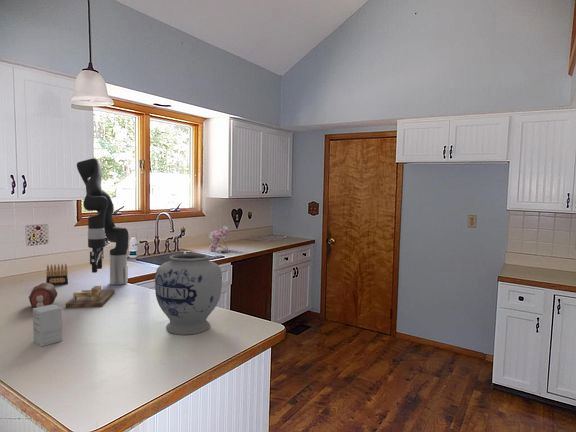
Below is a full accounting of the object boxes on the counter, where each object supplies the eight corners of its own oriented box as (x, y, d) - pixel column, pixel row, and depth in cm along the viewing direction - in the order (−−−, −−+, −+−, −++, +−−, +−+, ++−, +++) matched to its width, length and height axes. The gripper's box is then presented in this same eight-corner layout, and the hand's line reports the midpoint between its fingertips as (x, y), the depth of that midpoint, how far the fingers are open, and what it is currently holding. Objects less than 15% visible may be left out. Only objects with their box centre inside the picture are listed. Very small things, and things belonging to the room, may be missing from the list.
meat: (54, 311, 178) (54, 289, 177) (24, 314, 174) (23, 292, 173) (60, 299, 196) (59, 279, 195) (33, 301, 192) (32, 281, 191)
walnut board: (114, 293, 210) (114, 289, 210) (102, 306, 186) (102, 302, 186) (82, 294, 207) (82, 290, 207) (65, 307, 183) (65, 303, 183)
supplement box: (54, 336, 150) (54, 303, 149) (62, 341, 145) (62, 307, 144) (32, 341, 144) (32, 307, 143) (40, 347, 139) (39, 312, 139)
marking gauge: (102, 297, 194) (102, 285, 194) (99, 300, 189) (99, 288, 189) (75, 298, 192) (75, 286, 191) (72, 301, 187) (72, 288, 187)
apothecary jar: (154, 319, 171) (154, 251, 168) (215, 314, 180) (216, 249, 178) (156, 343, 146) (156, 263, 143) (227, 335, 155) (228, 260, 153)
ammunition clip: (46, 285, 222) (45, 264, 221) (46, 284, 223) (46, 264, 222) (67, 284, 226) (67, 263, 225) (68, 283, 228) (67, 263, 227)
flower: (228, 247, 366) (216, 223, 360) (240, 248, 347) (228, 223, 341) (210, 258, 355) (198, 234, 349) (221, 259, 337) (209, 234, 331)
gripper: (100, 239, 183) (101, 273, 184) (108, 235, 197) (109, 267, 198) (83, 239, 181) (84, 274, 183) (92, 235, 195) (93, 267, 197)
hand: (97, 270), depth 190 cm, fingers open, 8 cm apart
